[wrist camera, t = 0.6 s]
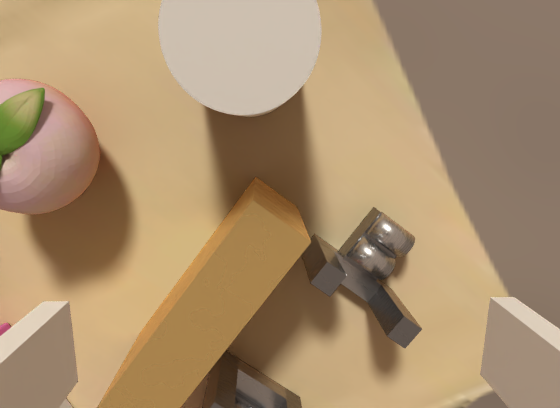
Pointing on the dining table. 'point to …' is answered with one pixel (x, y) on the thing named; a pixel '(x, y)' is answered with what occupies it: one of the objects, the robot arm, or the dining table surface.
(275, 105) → the cup
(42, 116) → the decorative fruit
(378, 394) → the dining table surface
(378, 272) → the pair of grey pieces
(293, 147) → the dining table surface
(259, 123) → the dining table surface
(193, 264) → the link bar
